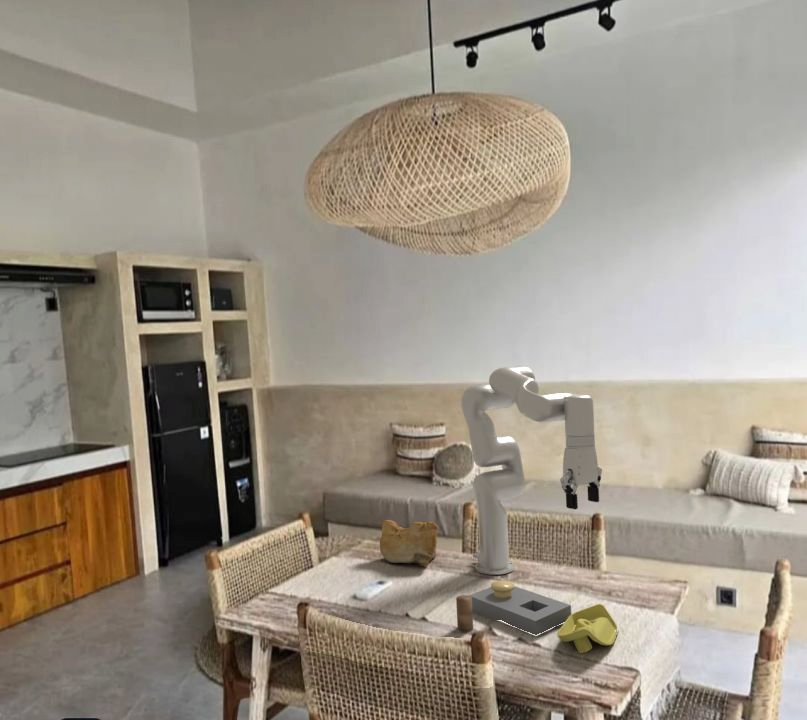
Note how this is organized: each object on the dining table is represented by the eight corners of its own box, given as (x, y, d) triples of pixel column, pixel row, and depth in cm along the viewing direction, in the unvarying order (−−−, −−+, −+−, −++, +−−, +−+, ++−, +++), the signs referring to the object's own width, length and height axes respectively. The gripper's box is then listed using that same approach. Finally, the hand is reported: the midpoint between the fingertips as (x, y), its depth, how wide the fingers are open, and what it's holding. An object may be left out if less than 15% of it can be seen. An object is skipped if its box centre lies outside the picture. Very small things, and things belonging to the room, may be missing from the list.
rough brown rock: (459, 562, 228) (458, 517, 229) (430, 572, 215) (428, 525, 216) (406, 553, 243) (405, 511, 244) (375, 562, 230) (375, 518, 231)
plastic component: (570, 613, 174) (605, 601, 170) (584, 641, 172) (619, 629, 168) (552, 639, 156) (590, 626, 152) (566, 671, 154) (606, 658, 150)
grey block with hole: (468, 609, 185) (467, 585, 185) (503, 595, 194) (502, 572, 193) (536, 636, 166) (534, 609, 166) (571, 620, 175) (570, 594, 175)
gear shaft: (454, 628, 173) (453, 597, 173) (465, 623, 176) (464, 593, 176) (465, 633, 170) (463, 602, 170) (476, 628, 173) (474, 597, 173)
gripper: (587, 436, 187) (589, 496, 188) (548, 444, 176) (551, 509, 177) (610, 438, 182) (613, 500, 182) (572, 447, 170) (575, 513, 171)
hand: (583, 504), depth 179 cm, fingers open, 9 cm apart
